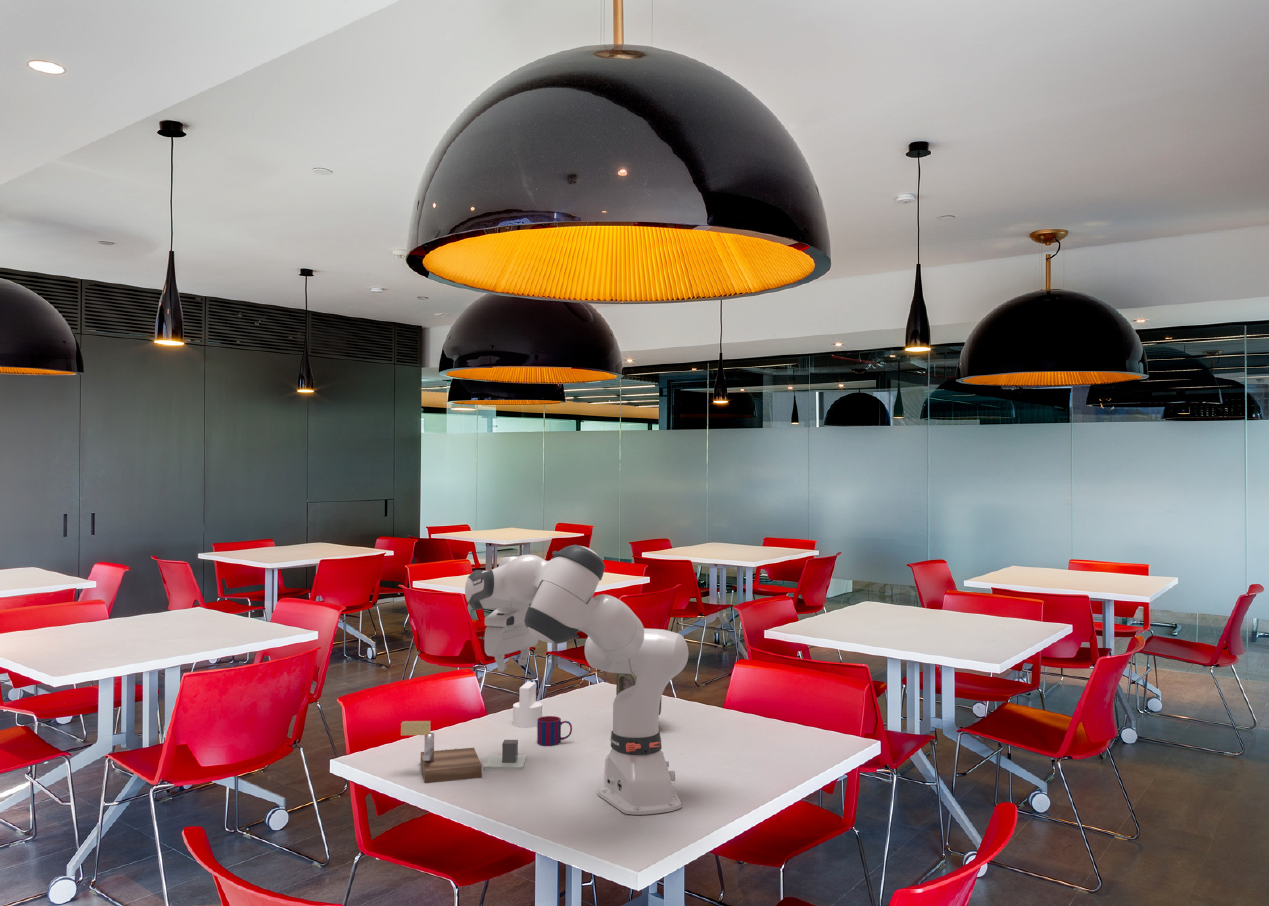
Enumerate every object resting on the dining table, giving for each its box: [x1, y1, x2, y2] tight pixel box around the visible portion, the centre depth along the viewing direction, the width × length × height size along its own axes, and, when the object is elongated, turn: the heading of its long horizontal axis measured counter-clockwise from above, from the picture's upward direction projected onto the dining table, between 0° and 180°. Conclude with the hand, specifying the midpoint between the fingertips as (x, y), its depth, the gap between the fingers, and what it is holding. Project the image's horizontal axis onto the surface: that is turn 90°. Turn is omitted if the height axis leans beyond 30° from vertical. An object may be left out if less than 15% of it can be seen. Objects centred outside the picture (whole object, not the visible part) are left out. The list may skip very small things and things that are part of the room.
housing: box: [420, 747, 483, 784], centre depth 219 cm, size 16×14×3 cm
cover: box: [483, 739, 528, 771], centre depth 225 cm, size 10×10×6 cm
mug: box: [536, 715, 573, 747], centre depth 244 cm, size 7×10×7 cm
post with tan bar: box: [400, 720, 435, 762], centre depth 215 cm, size 8×5×10 cm, turn 94°
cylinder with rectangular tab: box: [512, 681, 543, 729], centre depth 265 cm, size 9×9×12 cm
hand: (512, 668), depth 226 cm, fingers open, 8 cm apart
